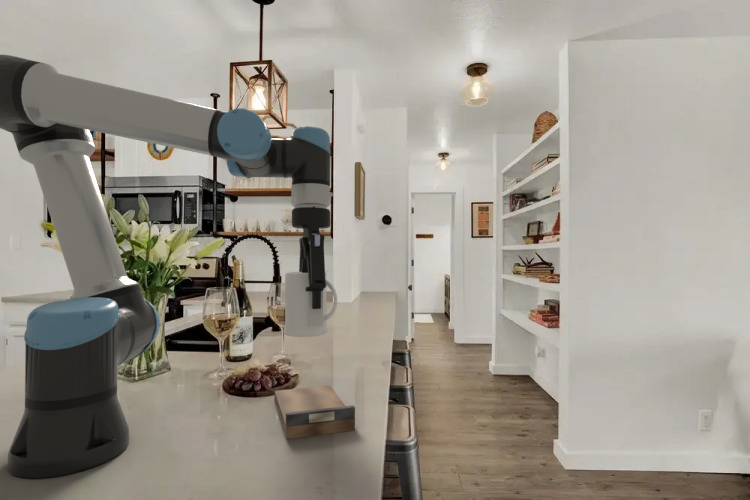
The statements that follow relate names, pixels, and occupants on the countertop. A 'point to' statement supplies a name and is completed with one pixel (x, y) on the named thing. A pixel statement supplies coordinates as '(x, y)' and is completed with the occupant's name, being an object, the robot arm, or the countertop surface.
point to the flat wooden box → (313, 412)
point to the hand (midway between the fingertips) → (310, 322)
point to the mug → (303, 306)
